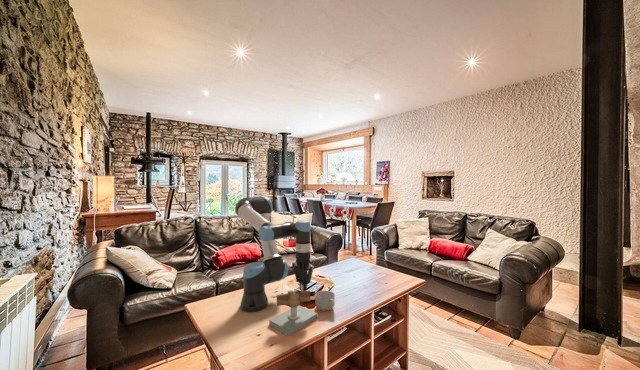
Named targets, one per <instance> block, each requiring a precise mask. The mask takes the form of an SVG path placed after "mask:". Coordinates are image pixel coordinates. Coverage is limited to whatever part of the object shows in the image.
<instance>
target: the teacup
mask: <svg viewBox="0 0 640 370" xmlns="http://www.w3.org/2000/svg"><path fill="white" fill-rule="evenodd" d="M314 295H315V303H314V304H315V307H317V309H318V310H320V311H323V312H324V311H326V312H327V311H330V310H332V309H333V308H334V306H335V296H336V295H335V293H334V292H332V291H330V290H319V291H317V292H315V294H314Z"/></svg>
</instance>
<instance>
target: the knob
mask: <svg viewBox="0 0 640 370" xmlns="http://www.w3.org/2000/svg"><path fill="white" fill-rule="evenodd" d="M306 302H311V290H310V289H307V290H305V291H301V290H298V289H291V290H288V291H287V293H281V294H276V306H277V307H279V306H288V307H290V308H291V307H297V306H299V305H300V306H301V303H306Z"/></svg>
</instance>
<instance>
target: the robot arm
mask: <svg viewBox="0 0 640 370" xmlns="http://www.w3.org/2000/svg"><path fill="white" fill-rule="evenodd" d="M273 209H274V208H273V203H272V201H271V199H270V198H269V197H267V196H253V197H252V196H251V197H243V198H241V199H240V200H239V201H237V203H236V204H235V207H234V212H235V214H236V216H237V217H238V218H239V219H241V220H245V221H246V222H247V223H248V224H249V225H250V226H252V228H254V229H255V230H256V231H257V232H258V237H259V239H260V244H261V248H262V253H263V257H264V258H263V260H262V261H255V262H250V263H248V264H247V265H245V266H244V267H243V270H242V271H243V272H242V273H243V274H242V280H243V284H242V285H243V293H242V297H241V301H240V309H241V310H242V311H243V312H246V313H247V312H248V313H255V312H259V311H262V310H264V309H266V308H267V307H268V305H269V299H268V297H267V294H266V291H265V286H266V285H268V284H269V285H270V284H273V283H275V282H280V281H281V280H284V279H286V278H287V276H288V273H289V264H288V262H287V260H286V259H284V258H283V256H282V255H281V254H279V251H278V248H277V243H276V240H281V239H286V238H295V261H293V262H292V263H291V265H292V266H293V271H294V276H295V281H296V282H297V283H298V284H299V291H305V290H308V284H310V283H311V281H312V276H313V271H314V269H315V265H312V264H311V223H310V221H309V220H304V219H302V220H300V219H299V220H297V221H296V222H292V221H285V222H284V223H279V224H273V223H272V222H271V219H270V218H271V215H272V213H273Z"/></svg>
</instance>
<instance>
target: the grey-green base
mask: <svg viewBox="0 0 640 370" xmlns="http://www.w3.org/2000/svg"><path fill="white" fill-rule="evenodd" d="M318 316H319V315H318V312H315V311H313V310H311V309H309V308H306V307H304V306H301V304H300V305H299V306H297V307H290V309H288V310H286V311H284V312H282V313H280V314H278V315H276V316H274V317H273V318H270V319H269V321H268V324H269V326H271V327H272V328H274V329H275V330H278V331H279V332H281V333H283V334H285V335H286V336H288V337H289V336H291V335H292V334H294V333H296V332H298V331H299V330H301V329H302V328H304V327H306V326H307V325H309V324H311V323H312V322H314V321H315V320H317V319H318V318H319V317H318Z"/></svg>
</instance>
